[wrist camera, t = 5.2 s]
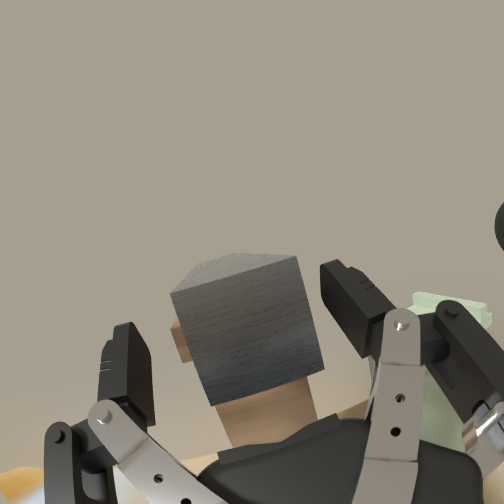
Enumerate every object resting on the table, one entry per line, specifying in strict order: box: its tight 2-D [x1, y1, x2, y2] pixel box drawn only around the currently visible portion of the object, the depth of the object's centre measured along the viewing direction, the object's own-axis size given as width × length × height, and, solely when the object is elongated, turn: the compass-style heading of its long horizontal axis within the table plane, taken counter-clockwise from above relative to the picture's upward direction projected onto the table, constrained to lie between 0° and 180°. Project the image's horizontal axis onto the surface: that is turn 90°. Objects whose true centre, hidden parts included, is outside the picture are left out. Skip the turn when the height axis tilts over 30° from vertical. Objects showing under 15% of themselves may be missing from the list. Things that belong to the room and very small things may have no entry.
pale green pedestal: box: [368, 292, 493, 453], centre depth 23 cm, size 12×12×27 cm
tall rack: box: [171, 317, 318, 448], centre depth 25 cm, size 15×12×33 cm
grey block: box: [170, 253, 325, 406], centre depth 20 cm, size 22×4×4 cm, turn 8°
